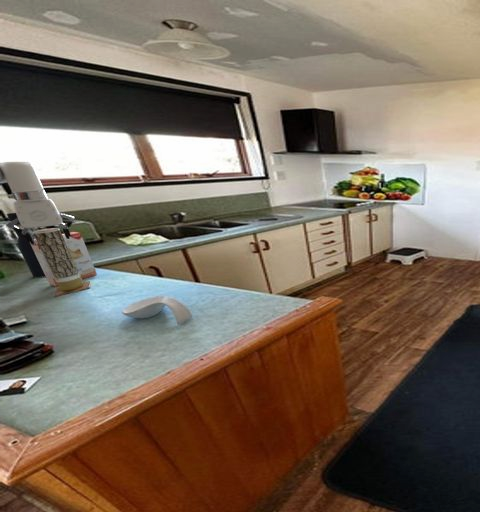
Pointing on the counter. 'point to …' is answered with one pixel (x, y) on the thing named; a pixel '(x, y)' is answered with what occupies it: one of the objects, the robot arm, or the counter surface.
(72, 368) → the counter surface
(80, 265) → the cracker box
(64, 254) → the bark print canister
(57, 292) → the coaster
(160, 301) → the spoon rest
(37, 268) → the wine bottle
